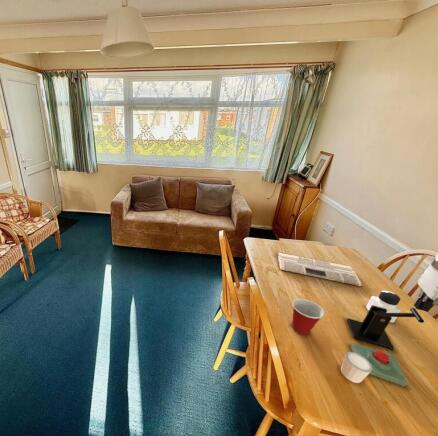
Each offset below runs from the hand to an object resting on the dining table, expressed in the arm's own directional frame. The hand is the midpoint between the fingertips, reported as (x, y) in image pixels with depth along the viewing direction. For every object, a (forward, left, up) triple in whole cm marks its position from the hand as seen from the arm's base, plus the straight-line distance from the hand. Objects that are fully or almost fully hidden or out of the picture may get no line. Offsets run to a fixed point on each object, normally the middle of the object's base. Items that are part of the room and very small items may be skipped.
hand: (420, 308), depth 82 cm
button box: (+11, +15, -18) cm, 26 cm away
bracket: (+9, 0, -18) cm, 20 cm away
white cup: (+20, +23, -19) cm, 36 cm away
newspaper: (+22, -42, -19) cm, 51 cm away
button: (+11, +15, -15) cm, 24 cm away
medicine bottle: (+1, -15, -19) cm, 24 cm away
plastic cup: (+34, +9, -19) cm, 40 cm away
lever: (+4, 0, -6) cm, 8 cm away
